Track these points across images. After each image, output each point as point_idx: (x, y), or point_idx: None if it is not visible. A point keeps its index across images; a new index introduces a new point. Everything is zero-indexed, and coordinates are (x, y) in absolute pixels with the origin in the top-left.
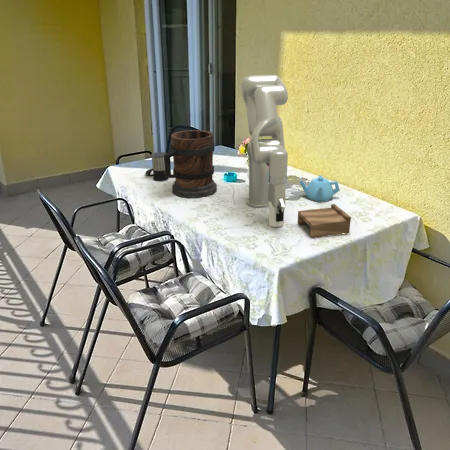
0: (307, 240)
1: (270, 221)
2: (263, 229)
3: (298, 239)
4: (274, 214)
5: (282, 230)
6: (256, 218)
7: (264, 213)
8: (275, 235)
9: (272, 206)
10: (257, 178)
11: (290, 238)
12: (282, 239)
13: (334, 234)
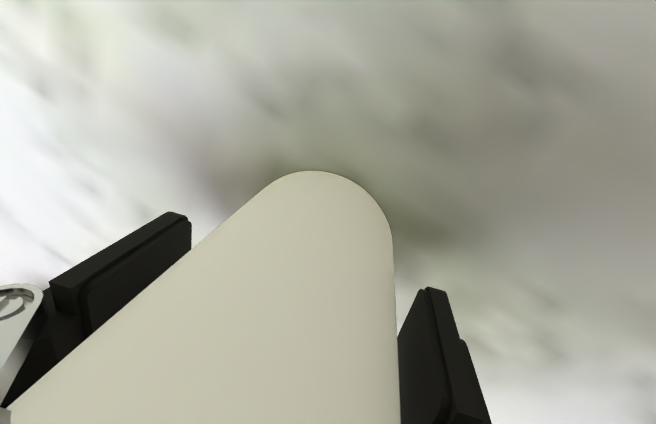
0: (9, 255)
1: (286, 184)
2: (265, 50)
3: (22, 217)
4: (175, 263)
5: (186, 211)
6: (598, 148)
7: (634, 304)
8: (102, 93)
9: (36, 392)
10: None
11: (39, 178)
12: (22, 106)
13: None
